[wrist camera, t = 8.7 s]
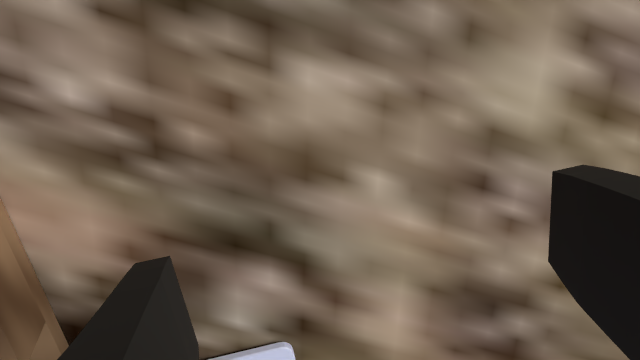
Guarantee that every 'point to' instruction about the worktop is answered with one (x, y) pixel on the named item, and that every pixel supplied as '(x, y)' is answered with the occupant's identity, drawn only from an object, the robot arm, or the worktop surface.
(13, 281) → the rack
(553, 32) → the worktop surface
